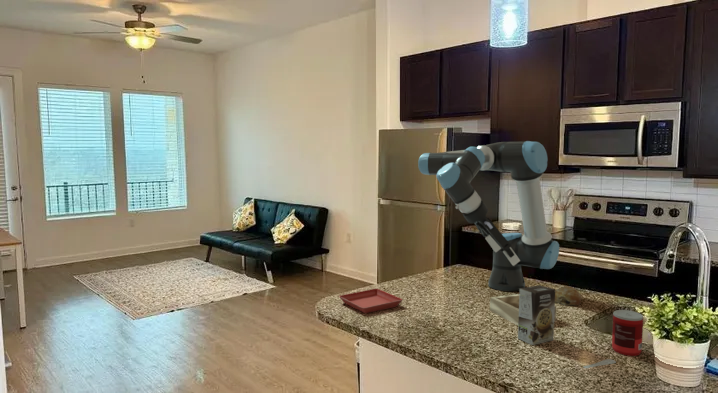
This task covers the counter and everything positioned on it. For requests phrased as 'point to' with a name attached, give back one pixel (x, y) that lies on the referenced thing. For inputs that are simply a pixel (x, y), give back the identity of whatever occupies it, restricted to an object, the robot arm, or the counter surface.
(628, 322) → the canned food
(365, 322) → the counter surface
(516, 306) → the wooden tray
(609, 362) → the butter knife
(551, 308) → the coffee box
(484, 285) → the counter surface
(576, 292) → the bread roll
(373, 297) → the plant saucer
